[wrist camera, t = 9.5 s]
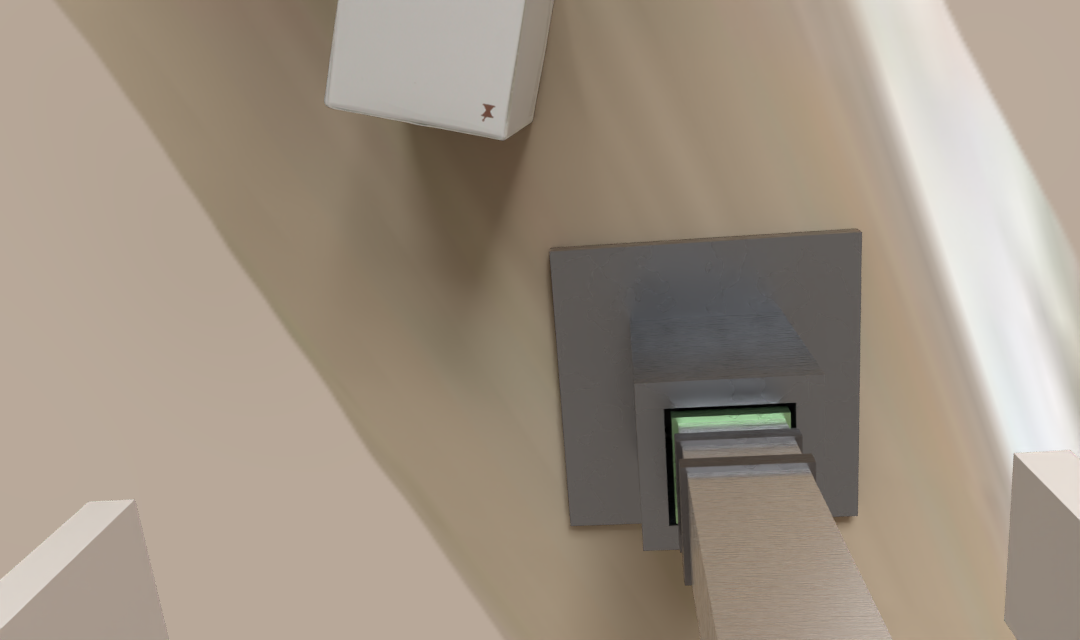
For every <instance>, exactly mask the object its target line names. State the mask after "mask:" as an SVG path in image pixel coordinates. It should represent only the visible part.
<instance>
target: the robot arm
mask: <svg viewBox="0 0 1080 640" xmlns="http://www.w3.org/2000/svg"><path fill="white" fill-rule="evenodd" d="M1004 621H1005V622H1006V624H1007V625H1008V627H1009V628H1010V630H1011V631H1012V633H1013V634H1014V636H1015V637H1016V639H1017V640H1080V458H1079V457H1078V456H1076V455H1075V454H1074V453H1073V452H1072V451H1071V450H1063V451H1044V452H1025V453H1014V459H1013V476H1012V494H1011V511H1010V528H1009V545H1008V563H1007V580H1006V597H1005V614H1004ZM0 640H169V637H168V634H167V629H166V625H165V621H164V617H163V613H162V609H161V605H160V600H159V597H158V592H157V588H156V584H155V580H154V576H153V572H152V567H151V563H150V559H149V555H148V551H147V547H146V543H145V539H144V535H143V530H142V526H141V522H140V518H139V514H138V510H137V506H136V501H135V499H131V500H114V501H113V500H112V501H94V502H88V503H86V504H85V505H84V506H83V507H82V508H81V509H80V510H78V511H77V512H76V513H75V514H74V515H73V516H72V517H71V518H69V519H68V520H67V521H66V522H65V523H64V524H63V525H62V526H60V527H59V528H58V529H57V530H56V531H55V532H54V533H53V534H51V535H50V536H49V537H48V538H47V539H46V540H45V541H44V542H42V543H41V544H40V545H39V546H38V547H37V548H36V549H34V550H33V551H32V552H31V553H30V554H29V555H28V556H26V557H25V558H24V559H23V560H22V561H21V562H20V563H19V564H17V566H15V567H14V568H13V569H12V570H11V571H10V572H8V573H7V574H6V575H5V576H4V577H3V578H2V579H1V580H0Z"/></svg>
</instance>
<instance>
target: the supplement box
mask: <svg viewBox="0 0 1080 640" xmlns="http://www.w3.org/2000/svg"><path fill="white" fill-rule="evenodd" d="M553 4H554V0H338V2H337V10H336V17H335V25H334V33H333V40H332V48H331V55H330V62H329V70H328V77H327V85H326V92H325V99H324V103H325V105H326V106H327V107H329V108H332V109H336V110H342V111H347V112H352V113H358V114H363V115H369V116H374V117H379V118H385V119H390V120H395V121H401V122H406V123H411V124H415V125H420V126H425V127H434V128H439V129H444V130H450V131H455V132H460V133H465V134H471V135H476V136H481V137H486V138H491V139H496V140H501V141H503V140H506V139H508V138H509V137H510V136H512V135H513V134H515V133H516V132H518V131H519V130H521V129H522V128H524V127H525V126H527V125H528V124H530V123H532V121H533V116H534V111H535V105H536V100H537V94H538V89H539V83H540V78H541V73H542V68H543V62H544V57H545V51H546V45H547V39H548V33H549V28H550V22H551V16H552V10H553Z"/></svg>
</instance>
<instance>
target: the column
mask: <svg viewBox="0 0 1080 640" xmlns="http://www.w3.org/2000/svg"><path fill="white" fill-rule="evenodd" d="M670 413H671V436H672V459H673V481H674V504H675V519H676V523H678V533H679V547H680V553H681V552H682V554H683V575H684V582H685V585H692V588H693V595H694V601H695V608H696V614H697V620H698V627H699V633H700V640H892V638H891V636H890V634H889V632H888V630H887V628H886V625H885V623H884V621H883V619H882V617H881V615H880V613H879V611H878V609H877V607H876V605H875V603H874V601H873V599H872V597H871V595H870V593H869V591H868V588H867V586H866V584H865V582H864V580H863V578H862V576H861V574H860V572H859V570H858V568H857V566H856V564H855V562H854V560H853V558H852V556H851V554H850V551H849V549H848V547H847V545H846V543H845V541H844V539H843V537H842V535H841V533H840V531H839V529H838V527H837V525H836V523H835V521H834V519H833V517H832V514H831V512H830V510H829V508H828V506H827V504H826V502H825V500H824V498H823V496H822V494H821V492H820V490H819V488H818V486H817V484H816V461H815V459H814V457H813V455H812V453H808V454H803V436H802V434H801V432H800V430H799V428H791V412H790V410H789V408H788V406H778V403H775V404H754V405H732V406H711V407H689V408H674V411H670Z"/></svg>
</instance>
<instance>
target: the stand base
mask: <svg viewBox="0 0 1080 640" xmlns="http://www.w3.org/2000/svg"><path fill="white" fill-rule="evenodd" d="M861 253H862V232H861V231H860V230H858V229H842V230H826V231H811V232H795V233H779V234H763V235H748V236H732V237H716V238H700V239H685V240H669V241H653V242H637V243H622V244H606V245H590V246H574V247H558V248H551V249H550V265H551V278H552V291H553V304H554V317H555V329H556V342H557V355H558V368H559V381H560V394H561V407H562V420H563V433H564V446H565V459H566V471H567V484H568V497H569V510H570V523H571V526H584V525H612V524H640V523H642V536H643V551H649V550H680V547H679V533H678V523H676V519H675V504H674V481H673V459H672V436H671V413H670V411H674V408H689V407H711V406H732V405H754V404H775V403H778V406H788V408H789V410H790V412H791V428H799V430H800V432H801V434H802V436H803V454H808V453H812V455H813V457H814V459H815V461H816V484H817V486H818V488H819V490H820V492H821V494H822V496H823V498H824V500H825V502H826V504H827V506H828V508H829V510H830V512H831V514H832V517H840V516H858V460H859V391H860V322H861Z"/></svg>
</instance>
